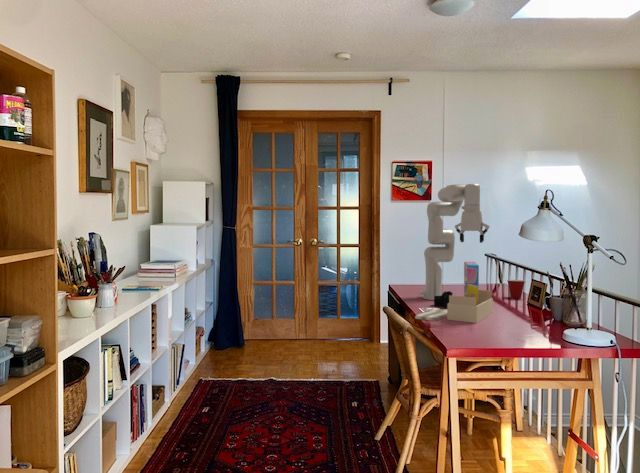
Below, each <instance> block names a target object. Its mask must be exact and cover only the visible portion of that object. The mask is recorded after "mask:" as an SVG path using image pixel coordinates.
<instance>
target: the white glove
mask: <svg viewBox="0 0 640 473" xmlns="http://www.w3.org/2000/svg"><path fill="white" fill-rule="evenodd" d="M446 317H447V309H441V308H429V309H427V310H426V311H423V312H420V313H418V314H416V315H415V316H414V319H415V320H423V321H429V322H430V321H432V322H437V321H440V320H443V318H446Z"/></svg>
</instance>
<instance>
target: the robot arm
mask: <svg viewBox="0 0 640 473" xmlns="http://www.w3.org/2000/svg"><path fill="white" fill-rule="evenodd" d="M437 197H438V200H440V201H432V202H430V203H428V204H427V208H426V216H427V219H428V226H427V228H428V229H427V231H428V232H427V242H428V244H430V245H437V246H428V247H426V248H425V249H424V254H423V255H424V262H425V290H419V293H418V294H419V295H422V299H424V300H429V301H431V300H432V301H434V297H435V296H442V293H443V292H442V290H443V289H442V286H443V285H442V283H443V282H442V277H443V274H442V273H443V272H442V271H443V270H442V268H441V266H440V264H439V263H450V262H452V261H453V260H454V255H455V254H454V253H455V240H456V237H455V232H454V230H452V229H451V228H444V220H443V218H442V217H454V216H457V215H458V213H459V212H460V210H461V209H462V210H463V211H462V213H461V217H460V219H461V220H460V222H459V223H457V224H455V225H454V228H455V230H456V232H457V233H458V234H459V241H460V243H464V242H465V234H464V233H465V232H466V231H467V232H479V233H480V234H479V243H480V244H481V243H484V241H485V234H486V233H487V232H488V230H489V229H490V225H488V224H486V223H484V222H483V215H482V211H481V209H480V208H481V205H480V204H481V188H480V185H479V183H469V184H449V185H446V186H445V187H442V188H440V189H439V191H438V193H437ZM463 202H464V203H463ZM462 205H463V206H462ZM483 227H485V228H484V230H483ZM440 245H444V246H440Z"/></svg>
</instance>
